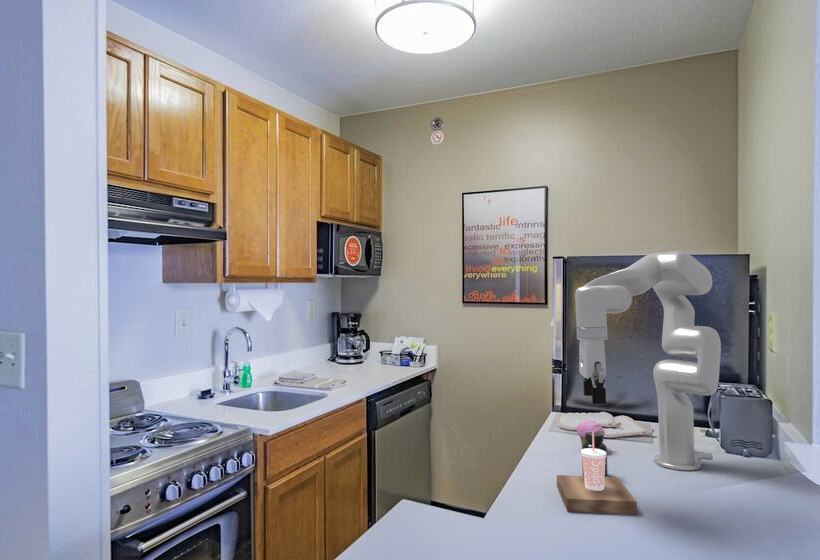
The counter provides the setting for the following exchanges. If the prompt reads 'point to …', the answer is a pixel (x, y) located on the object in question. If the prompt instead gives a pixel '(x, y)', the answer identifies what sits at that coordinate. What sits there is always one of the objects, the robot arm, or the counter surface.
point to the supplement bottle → (595, 446)
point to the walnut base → (596, 496)
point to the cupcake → (589, 429)
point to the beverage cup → (594, 467)
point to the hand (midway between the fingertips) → (594, 399)
